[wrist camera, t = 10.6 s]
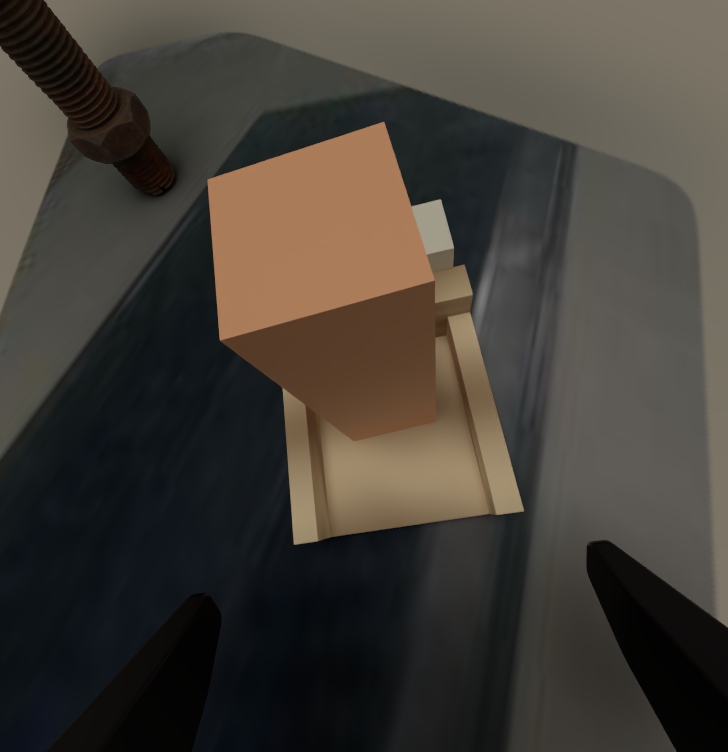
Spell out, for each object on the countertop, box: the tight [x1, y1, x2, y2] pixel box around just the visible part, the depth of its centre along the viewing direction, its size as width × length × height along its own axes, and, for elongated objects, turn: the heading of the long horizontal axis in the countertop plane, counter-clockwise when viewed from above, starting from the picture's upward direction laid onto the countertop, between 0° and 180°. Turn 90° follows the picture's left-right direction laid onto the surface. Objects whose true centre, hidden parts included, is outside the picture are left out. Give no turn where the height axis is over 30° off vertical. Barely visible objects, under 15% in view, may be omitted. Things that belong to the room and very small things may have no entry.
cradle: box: [283, 265, 524, 545], centre depth 17 cm, size 10×9×4 cm
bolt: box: [0, 0, 175, 195], centre depth 21 cm, size 6×5×15 cm
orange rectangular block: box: [208, 122, 436, 441], centre depth 13 cm, size 4×4×12 cm
